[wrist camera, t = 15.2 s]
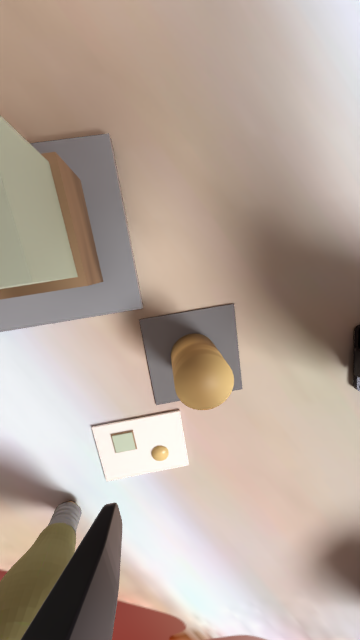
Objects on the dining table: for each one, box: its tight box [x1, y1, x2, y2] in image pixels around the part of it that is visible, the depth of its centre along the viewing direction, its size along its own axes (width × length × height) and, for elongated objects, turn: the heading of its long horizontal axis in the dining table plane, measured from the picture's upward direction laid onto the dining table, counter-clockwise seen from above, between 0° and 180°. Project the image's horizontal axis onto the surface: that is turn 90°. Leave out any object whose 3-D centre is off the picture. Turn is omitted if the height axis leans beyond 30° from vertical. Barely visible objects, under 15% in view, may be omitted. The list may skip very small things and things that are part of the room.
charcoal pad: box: [139, 304, 242, 405], centre depth 20 cm, size 8×8×1 cm
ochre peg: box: [171, 333, 234, 410], centre depth 18 cm, size 4×4×5 cm
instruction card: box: [92, 410, 189, 481], centre depth 22 cm, size 8×6×1 cm
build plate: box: [0, 134, 143, 332], centre depth 17 cm, size 12×12×1 cm
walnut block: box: [0, 152, 103, 300], centre depth 15 cm, size 7×7×4 cm
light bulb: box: [0, 501, 81, 640], centre depth 18 cm, size 6×6×10 cm
